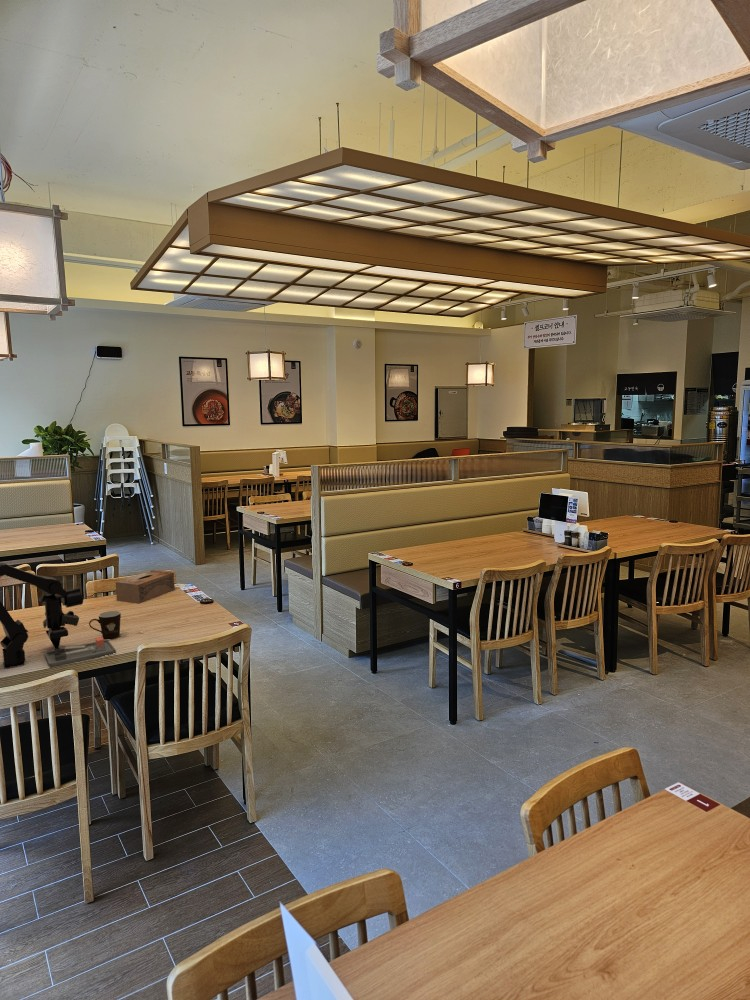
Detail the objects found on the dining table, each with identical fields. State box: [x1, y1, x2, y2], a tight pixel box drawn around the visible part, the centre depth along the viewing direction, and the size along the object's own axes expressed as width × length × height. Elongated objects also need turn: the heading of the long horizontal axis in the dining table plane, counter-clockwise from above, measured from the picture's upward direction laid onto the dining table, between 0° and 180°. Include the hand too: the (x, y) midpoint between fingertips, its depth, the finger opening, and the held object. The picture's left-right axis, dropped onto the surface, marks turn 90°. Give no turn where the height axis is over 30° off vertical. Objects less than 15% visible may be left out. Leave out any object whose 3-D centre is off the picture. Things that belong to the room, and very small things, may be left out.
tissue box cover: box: [115, 569, 176, 605], centre depth 321 cm, size 26×14×10 cm, turn 157°
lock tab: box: [95, 636, 105, 647], centre depth 243 cm, size 2×4×2 cm, turn 35°
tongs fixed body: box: [55, 645, 105, 661], centre depth 239 cm, size 18×4×2 cm, turn 125°
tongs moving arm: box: [53, 645, 86, 654], centre depth 241 cm, size 11×2×2 cm, turn 103°
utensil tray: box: [43, 639, 117, 669], centre depth 241 cm, size 23×14×2 cm, turn 125°
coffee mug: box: [88, 610, 122, 640], centre depth 260 cm, size 12×9×10 cm
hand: (57, 648), depth 243 cm, fingers closed
